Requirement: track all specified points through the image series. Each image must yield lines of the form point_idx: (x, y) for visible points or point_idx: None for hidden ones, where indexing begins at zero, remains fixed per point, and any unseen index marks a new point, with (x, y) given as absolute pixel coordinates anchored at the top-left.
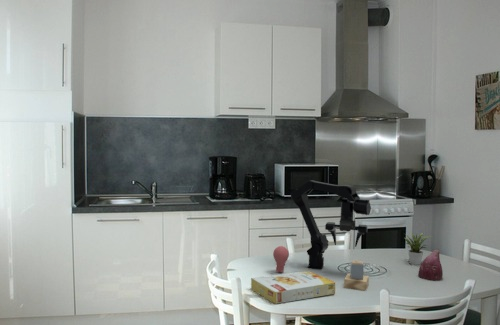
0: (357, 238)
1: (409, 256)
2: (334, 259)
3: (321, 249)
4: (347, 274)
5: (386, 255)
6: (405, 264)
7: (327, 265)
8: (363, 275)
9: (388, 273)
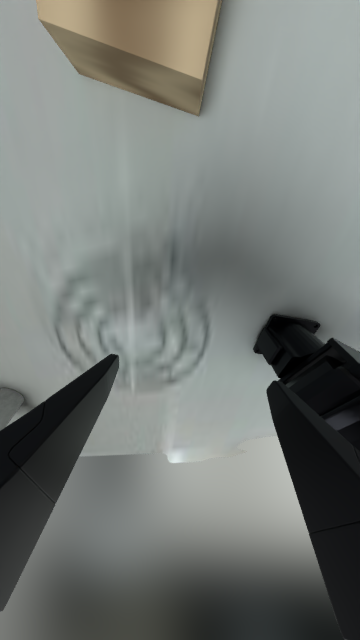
0: (31, 431)
1: (6, 411)
2: (202, 401)
3: (335, 366)
4: (208, 30)
5: None
6: (28, 387)
7: (235, 356)
8: (82, 33)
9: (42, 307)
